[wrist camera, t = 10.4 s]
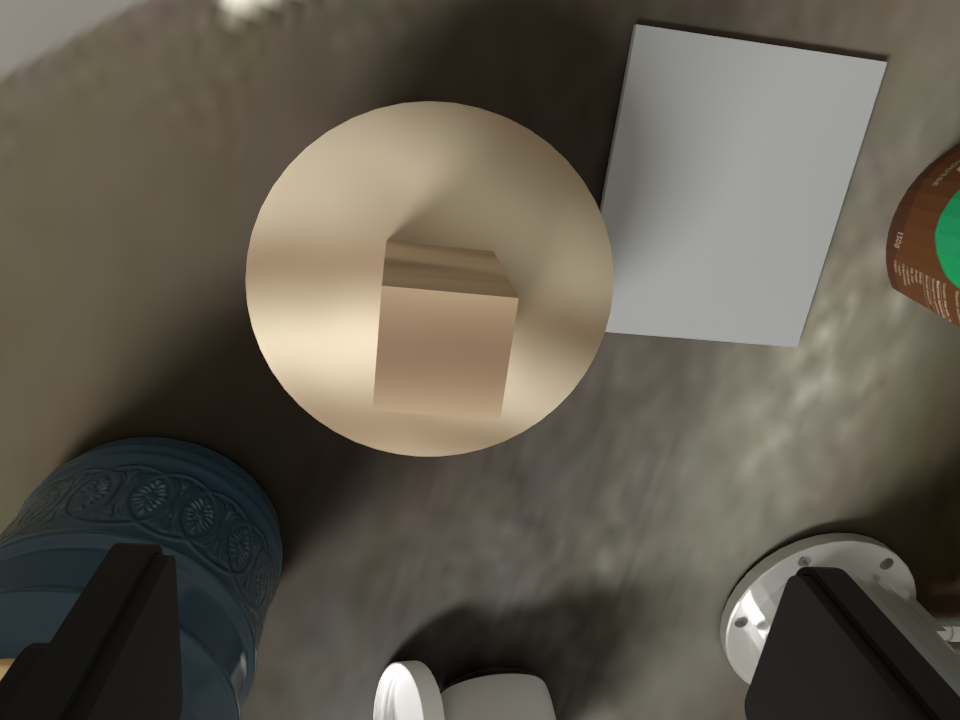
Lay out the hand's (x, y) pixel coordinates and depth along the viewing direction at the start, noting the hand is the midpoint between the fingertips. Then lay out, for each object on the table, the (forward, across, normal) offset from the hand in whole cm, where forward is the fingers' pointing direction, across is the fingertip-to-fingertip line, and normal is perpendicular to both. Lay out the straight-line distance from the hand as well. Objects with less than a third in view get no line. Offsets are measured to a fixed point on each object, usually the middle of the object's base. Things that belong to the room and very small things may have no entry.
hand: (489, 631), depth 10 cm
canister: (+24, +13, +17) cm, 32 cm away
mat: (+24, -14, -4) cm, 28 cm away
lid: (+18, 0, 0) cm, 18 cm away
